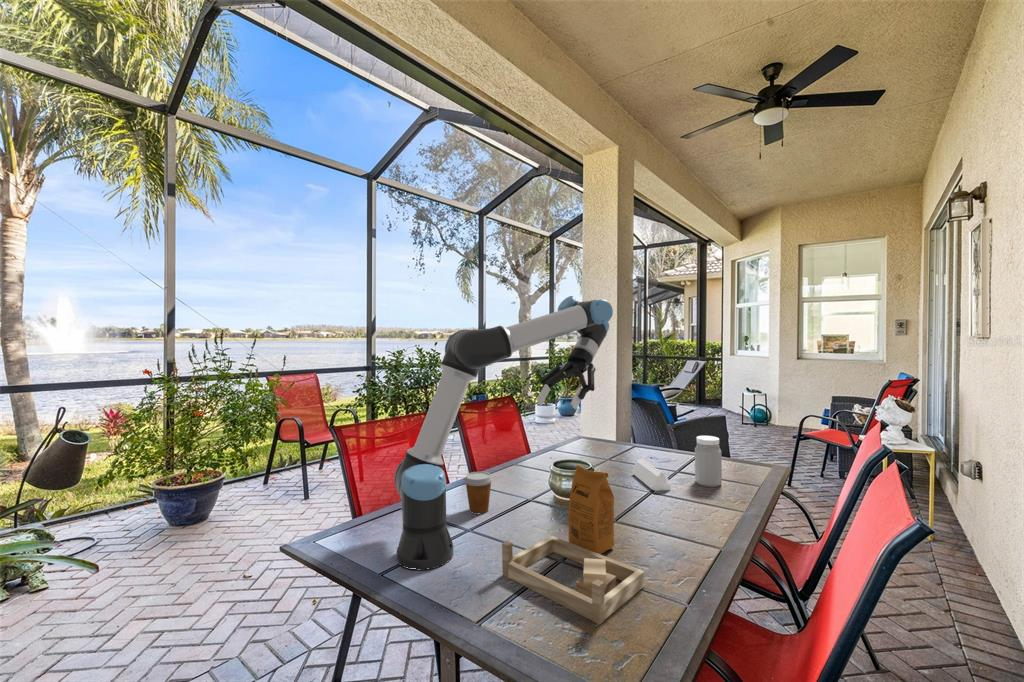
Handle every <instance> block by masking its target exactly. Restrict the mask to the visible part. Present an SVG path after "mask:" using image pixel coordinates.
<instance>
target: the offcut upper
mask: <svg viewBox="0 0 1024 682" xmlns="http://www.w3.org/2000/svg"><path fill="white" fill-rule="evenodd" d="M582 577H583V578H584V586H585V587H592V582H594V581H595V580H596V579H597V580H599V581H602V582H604V588H606V562H605V559H589V558H584V565H583V575H582Z"/></svg>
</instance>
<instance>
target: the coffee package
mask: <svg viewBox="0 0 1024 682" xmlns="http://www.w3.org/2000/svg"><path fill="white" fill-rule="evenodd" d="M608 477H609V473H608V472H605V471H596V470H595V471H593V470H588V469H587V468H585V467H584V466H582V465H581V464H577V466H576V469H575V472H574V475H573V481H572V484H571V489H570V493H569V500H568V502H569V503H568V514H567V515H568V516H567V522H568V524H567V525H568V542H569V543H572V544H574V545H577V546H580V547H582V548H585V549H587V550H590V551H593V552H595V553H598V554H600V555H603V554H604V553H605V552H607V551H608V550H609V551H610V550H611V549H613V548H614V547H615V532H614V528H615V520H614V519H615V508H614V506H615V496H614V493H613V492H612V488H611V486H610V484H609V481H608Z"/></svg>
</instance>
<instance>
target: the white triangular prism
mask: <svg viewBox="0 0 1024 682" xmlns="http://www.w3.org/2000/svg"><path fill="white" fill-rule="evenodd" d="M632 474H633V475H634V476H635V477H636V478H637V479H638V480H640V481H641V482H642V483H643V484H644V485H646V486H647V487H648V488H649V489H650V490H653V491H655V492H664V491H665V492H667V491H670V490H671V489H672V485H671V482H670V480H669V479H668V477H667V475H666V474H665V473H663V472H662V471H660V470H659V469H658V468H656V467H655V466H653V465H652V464H651V463H649V462H647V461H646V460H645V459H644V458H641V457H640V458H639V459H637V460H636V462H635V464H634V466H633V467H632Z"/></svg>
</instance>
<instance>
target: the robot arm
mask: <svg viewBox="0 0 1024 682" xmlns="http://www.w3.org/2000/svg"><path fill="white" fill-rule="evenodd" d="M613 314H614V310H613V306H612V303H610V302H609V300H606V299H603V298H602V299H599V298H596V299H593V300H586V301H579V300H578V299H577V298H576V297H574V296H573V295H570V296H568V297H566V298H564V299H563V300H562V301H561V302H560V304H559V305H558V306H557V311H554V312H551V313H548V314H545V315H541V316H539V317H535V318H531V319H529V320H525V321H521V322H519V323H515V324H513V325H509V326H506V327H504V326H503V325H498V326H494V327H491V328H489V327H488V328H482V329H465V328H464V329H460V330H458V331H456V332H454V333H452V334H451V335H450V336H449V337H448V338H447V340H446V343H445V346H444V356H443V358H442V361H441V364H440V367H441V370H442V374H441V377H440V379H439V382H438V384H437V387H436V390H435V392H434V395H433V398H432V400H431V402H430V405H429V408H428V410H427V413H426V415H425V418H424V421H423V423H422V426H421V428H420V430H419V433H418V435H417V439H416V441H415V443H414V445H413V447H410V448H408V449H407V450H406V453H405V455H404V458H403V459H402V461H400V463H399V464H398V466H397V468H396V469H395V472H394V478H393V479H394V486H395V489H396V492H397V493H398V495H399V497H400V501H401V507H402V509H401V510H402V512H401V513H402V532H401V535H400V539H399V542H398V544H397V545H398V547H397V548H396V562H397V561H398V563H400V564H401V565H402V566H405V567H408V568H416V569H427V568H433V567H436V568H438V567H437V566H439V567H441V566H440V565H442V564H444V563H446V562H447V561H448V560H450V559H451V560H452V558H453V557H454V544H453V541H452V537H451V534H450V532H449V529H448V526H447V479H446V474H445V473H446V472H445V471H444V470H443V466H444V461H443V458H442V454H443V452H444V448H445V446H446V444H447V442H448V439H449V435H450V434H451V431H452V428H453V425H454V423H455V420H456V418H457V416H458V412H459V410H460V408H461V405H462V403H463V399H464V397H465V394H466V392H467V389H468V387H469V384H470V382H471V381H473V380H476V379H477V377H478V374H479V372H480V369H483V368H485V367H489V366H491V365H493V364H496V363H497V362H501V361H503V360H505V359H508V358H511V357H512V355H513V353H514V352H515V353H516V352H518V351H521V350H524V349H526V348H527V349H528V348H529V347H533V346H536V345H538V344H541V343H545V342H548V341H550V340H553V339H558V338H559V337H563V336H564V335H568V334H571V333H574V332H577V333H578V334H579V337H578V339H577V341H576V343H575V344H574V346H573V348H572V350H571V352H570V354H569V356H568V358H567V362H566V363H563V362H562V361H558V363H557V364H556V366H555V367H554V368H553V369H552V370H550V371H549V372H548V373H547V374H546V375H545V376H543V378H541V379H540V381H539V383H540V384H541V388H540V390H539V393H538V395H537V397H536V402H537V403H538V404H539V405H540V406H542V405H543V404H544V402H545V400H546V399H547V397H548V395H549V393H550V392H551V390H552V389H551V387H554V386H555V385H556V384H558V383H560V382H562V381H563V380H564V379H568V378H578V380H579V382H580V386H579V387H577V390H576V392H575V395H574V396H573V398H572V399H571V402H570V405H571V406H572V409H573V410H577V409H578V408H579V405H580V403H581V401H582V400H584V399H585V397H586V395H587V393H588V392H589V391H591V392H594V391H595V389H596V388H595V371H596V367H595V365H594V364H593V363H592V362H593V360H594V358H595V357H596V354H597V353H598V351H599V349H600V347H601V345H602V343H603V341H604V340H605V338H606V337H607V333H608V331H609V329H610V323H609V322H610V320H611V319H612V317H613ZM585 372H587V381H586V378H585V376H584V373H585ZM452 556H453V557H452ZM451 560H450V561H451ZM448 562H449V561H448ZM448 562H447V563H448ZM398 563H397V564H398ZM447 563H446V564H447ZM444 565H445V564H444ZM402 566H401V567H402ZM442 566H443V565H442ZM433 569H434V568H433ZM427 570H428V569H427Z"/></svg>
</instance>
